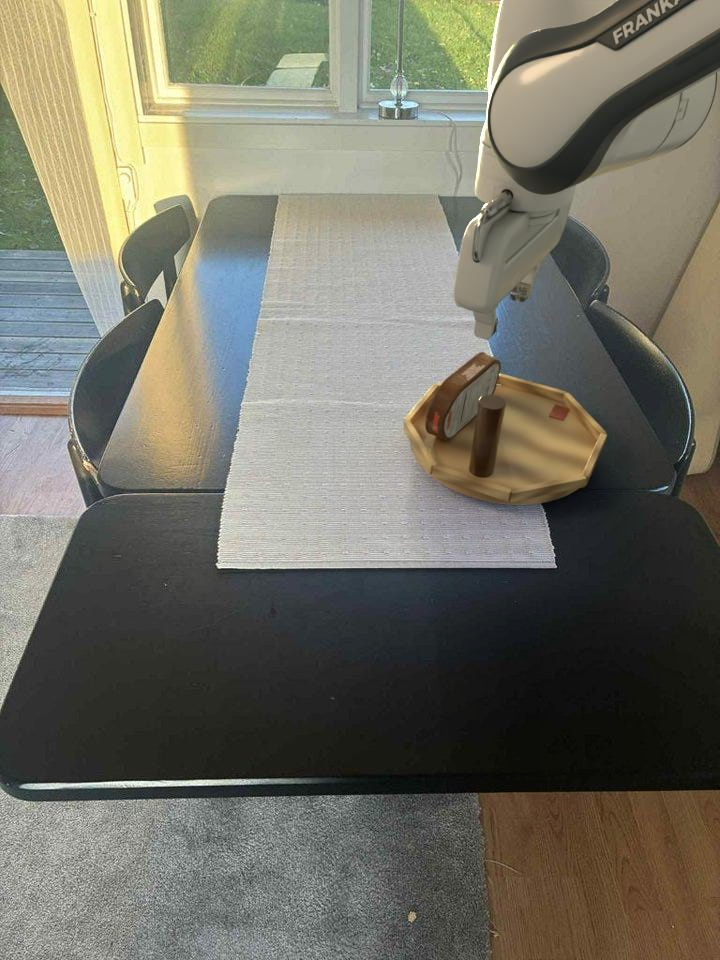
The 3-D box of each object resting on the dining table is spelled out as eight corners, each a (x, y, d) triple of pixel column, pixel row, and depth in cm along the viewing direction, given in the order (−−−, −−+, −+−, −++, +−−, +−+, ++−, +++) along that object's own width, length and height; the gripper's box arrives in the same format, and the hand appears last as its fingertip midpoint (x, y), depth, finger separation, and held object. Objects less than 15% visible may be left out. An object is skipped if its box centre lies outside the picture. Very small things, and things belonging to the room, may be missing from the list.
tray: (567, 530, 79) (590, 453, 72) (378, 465, 87) (381, 389, 80) (615, 421, 95) (637, 349, 88) (451, 375, 104) (459, 305, 96)
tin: (479, 393, 98) (487, 339, 92) (499, 401, 96) (508, 347, 91) (420, 445, 89) (425, 389, 83) (441, 454, 87) (448, 398, 82)
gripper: (516, 219, 55) (492, 370, 64) (593, 154, 68) (563, 287, 77) (444, 203, 57) (430, 351, 66) (531, 144, 71) (510, 274, 80)
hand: (502, 316), depth 72 cm, fingers open, 8 cm apart
